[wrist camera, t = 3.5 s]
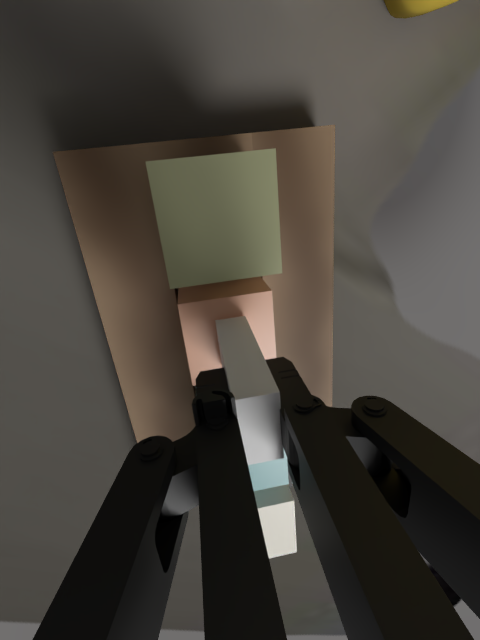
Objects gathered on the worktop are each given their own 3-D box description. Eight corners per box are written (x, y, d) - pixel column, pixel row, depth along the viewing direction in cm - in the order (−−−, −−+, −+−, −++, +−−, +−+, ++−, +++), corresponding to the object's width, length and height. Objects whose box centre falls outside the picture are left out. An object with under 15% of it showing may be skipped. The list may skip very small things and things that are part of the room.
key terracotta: (191, 343, 22) (192, 385, 17) (179, 277, 20) (177, 304, 16) (258, 333, 22) (277, 371, 18) (252, 267, 21) (272, 290, 16)
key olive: (174, 262, 18) (170, 289, 13) (156, 168, 16) (145, 161, 11) (257, 251, 18) (282, 273, 14) (250, 158, 16) (275, 148, 12)
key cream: (217, 497, 25) (224, 568, 20) (208, 451, 23) (214, 517, 18) (276, 485, 25) (296, 552, 21) (272, 438, 23) (294, 500, 19)
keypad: (160, 486, 28) (157, 513, 25) (69, 156, 18) (52, 151, 16) (319, 454, 29) (331, 477, 27) (317, 132, 19) (335, 124, 17)
